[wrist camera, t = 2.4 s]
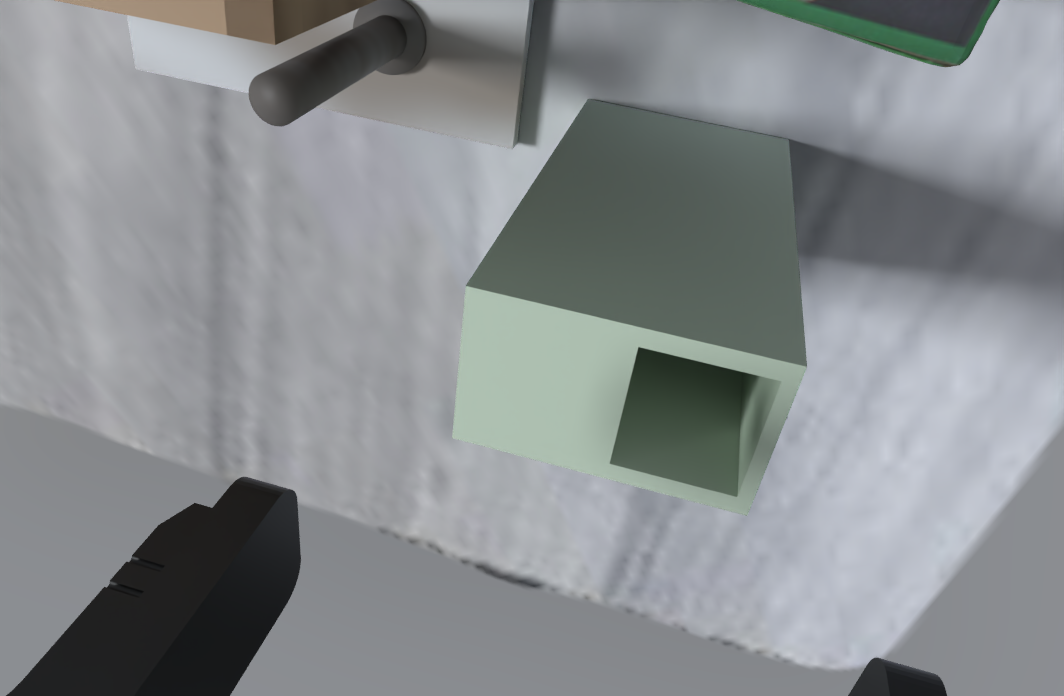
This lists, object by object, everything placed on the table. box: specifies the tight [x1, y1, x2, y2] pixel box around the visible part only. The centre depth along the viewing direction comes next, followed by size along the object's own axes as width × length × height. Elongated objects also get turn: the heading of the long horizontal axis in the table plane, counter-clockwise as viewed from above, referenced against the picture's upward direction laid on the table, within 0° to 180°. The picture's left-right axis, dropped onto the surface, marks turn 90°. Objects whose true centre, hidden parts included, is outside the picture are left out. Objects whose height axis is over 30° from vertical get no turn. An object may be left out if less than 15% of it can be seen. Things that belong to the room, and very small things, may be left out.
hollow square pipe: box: [452, 99, 807, 516], centre depth 20 cm, size 4×6×12 cm
